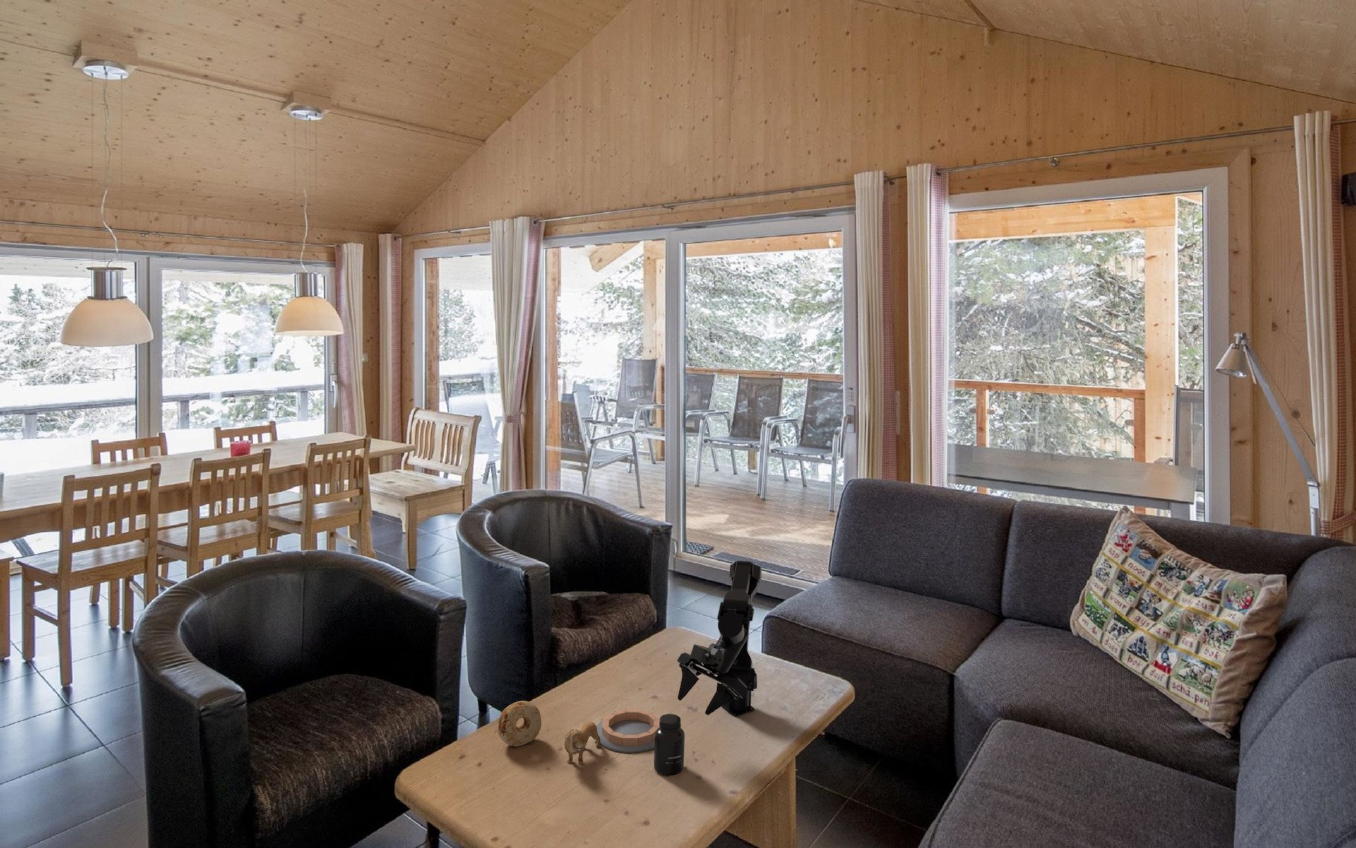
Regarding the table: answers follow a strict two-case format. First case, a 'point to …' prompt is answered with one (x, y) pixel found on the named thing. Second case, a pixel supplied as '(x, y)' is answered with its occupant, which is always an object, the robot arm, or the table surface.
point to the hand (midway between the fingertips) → (692, 707)
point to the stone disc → (526, 730)
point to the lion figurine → (580, 740)
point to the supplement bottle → (669, 746)
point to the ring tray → (628, 731)
